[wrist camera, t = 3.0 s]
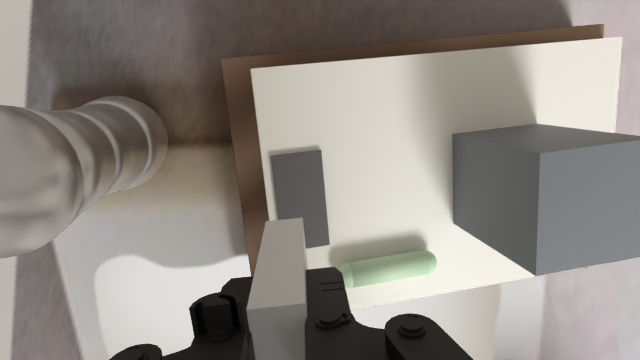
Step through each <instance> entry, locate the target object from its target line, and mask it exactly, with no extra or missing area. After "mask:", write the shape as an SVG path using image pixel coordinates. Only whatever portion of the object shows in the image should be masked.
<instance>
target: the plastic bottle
mask: <svg viewBox="0 0 640 360" xmlns="http://www.w3.org/2000/svg"><path fill="white" fill-rule="evenodd" d="M167 151H168V135H167V131H166V128H165V125H164V123H163V122H162V120H161V118H160V117H159V116H158V115H157V113H156V112H155V111H154V110H153V109H151V108H150V107H149V106H147V105H146V104H144V103H142V102H140V101H137V100H134V99H131V98H128V97H124V96H105V97H102V98H99V99H96V100H93V101H90V102H88V103H86V104H84V105H82V106H81V107H77V108H74V109H70V110H61V111H60V110H49V111H44V110H36V109H29V108H21V107H15V106H5V105H0V258H6V257H12V256H17V255H22V254H25V253H28V252H32V251H35V250H36V249H38V248H40V247H42V246H44V245H46V244H47V243H48V242H50V241H51V240H52V239H54V238H55V237H56V236H58V235H59V234H60V233H61V232H62V231H63V230H65V229H66V228H67V227H68V226H69V225H70V224H71V223H72V222H73V221H74V220H75V219H76V218H77V217H78V216H79V215H80V214H81V213H82V212H83V211H84V210H85V209H86V208H87V207H89V206H90V205H92V204H93V203H95V202H96V201H97V200H99V199H100V198H102V197H103V196H106V195H108V194H111V193H114V192H118V191H124V190H128V189H131V188H134V187H138V186H140V185H142V184H144V183H146V182H147V181H148V180H150V179H151V178H152V177H153V176H154V175H155V174H156V172H157V171H158V170H159V169H160V167H161V165H162V164H163V162H164V160H165V158H166V155H167Z"/></svg>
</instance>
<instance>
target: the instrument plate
mask: <svg viewBox="0 0 640 360" xmlns="http://www.w3.org/2000/svg"><path fill="white" fill-rule="evenodd" d="M621 49H622V37H613V38H601V39H590V40H578V41H567V42H555V43H543V44H532V45H520V46H508V47H497V48H485V49H474V50H462V51H450V52H439V53H427V54H415V55H404V56H392V57H381V58H369V59H357V60H346V61H334V62H322V63H311V64H299V65H287V66H276V67H264V68H253V69H250V72H251V80H252V88H253V96H254V104H255V112H256V120H257V128H258V136H259V144H260V152H261V160H262V168H263V176H264V184H265V192H266V200H267V208H268V216H269V221H274V220H283V219H293V218H303V227H304V236H305V245H306V255H307V264H308V269H317V268H326V267H335V268H337V269H338V270H339V271H340V272H341V273H342V275H343V280H344V284H345V289H346V293H347V297H348V302H349V306H350V311H353V310H358V309H363V308H369V307H374V306H380V305H385V304H390V303H395V302H401V301H406V300H412V299H417V298H423V297H428V296H433V295H439V294H444V293H450V292H455V291H460V290H465V289H471V288H476V287H482V286H487V285H493V284H498V283H503V282H509V281H514V280H519V279H525V278H530V277H536V276H541V275H546V274H552V273H557V272H562V271H568V270H573V269H579V268H584V267H589V266H595V265H600V264H605V263H610V262H615V261H620V260H626V259H631V258H637V257H640V136H634V135H626V134H618V133H615V126H616V113H617V100H618V87H619V75H620V62H621Z"/></svg>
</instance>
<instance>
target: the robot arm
mask: <svg viewBox="0 0 640 360" xmlns="http://www.w3.org/2000/svg"><path fill="white" fill-rule="evenodd" d="M189 310H190V315H191V320H192V325H193V331H194V336H195V337H194V339H193V342H192V344H191V346H190V347H188V348H187V349H184V350H181V351H179V352H176V353H173V354H169V355H166V356H162V351H161V349H160V348H159V347H158V346H156V345H152V344H141V345H134V346H131V347H129V348H126V349H125V350H123V351H121V352H119V353H117V354H116V355H114V356H113V357H112V358H111V359H109V360H473V359H472V358H471V357H470V356H469V355H468V354H467V353H466V352H465V351H464V350H463V349H462V348H461V347H460V346H459V345H458V344H457V343H456V342H455V341H454V340H453V339H452V338H451V337H450V336H449V335H448V334H447V333H445V332H444V330H442V328H441V327H440V326H438V324H437V323H435V322H434V321H433V320H431V319H430V318H428V317H425V316H422V315H419V314H402V315H398V316H395V317H393V318H391V319H390V320H389V321H388V322H387V323H386V325H385V329H378V328H371V327H367V326H364V325H362V324H360V323H358V322H357V321H356V320H355V318H354V317H353V315H352V313H351V311H350V306H349V302H348V297H347V293H346V289H345V284H344V280H343V275H342V273H341V272H340V271H339V270H338V269H337V268H335V267H326V268H317V269H308V264H307V255H306V245H305V236H304V227H303V218H293V219H283V220H274V221H266V223H265V228H264V232H263V237H262V241H261V246H260V250H259V255H258V259H257V264H256V268H255V273H254V276H252V277H242V278H233V279H231V280H230V281H228V282H227V283H226V284H225V285H224V286H223V287H222V290H221V292H218V293H213V294H209V295H207V296H204V297H202V298H200V299H198V300H197V301H195V302H194V303H193V304H192V305H191V307H190V308H189Z"/></svg>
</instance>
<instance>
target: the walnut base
mask: <svg viewBox="0 0 640 360" xmlns="http://www.w3.org/2000/svg"><path fill="white" fill-rule="evenodd" d="M603 35H604V24H597V25H586V26H575V27H564V28H553V29H542V30H531V31H520V32H509V33H498V34H487V35H476V36H465V37H454V38H443V39H432V40H421V41H410V42H399V43H388V44H377V45H366V46H355V47H344V48H333V49H322V50H311V51H300V52H289V53H278V54H267V55H256V56H245V57H234V58H223V59H221V65H222V72H223V79H224V86H225V93H226V100H227V107H228V114H229V121H230V128H231V136H232V143H233V150H234V157H235V164H236V171H237V178H238V185H239V192H240V199H241V207H242V214H243V221H244V228H245V235H246V242H247V249H248V256H249V263H250V269H251V277H252V276H254V273H255V268H256V264H257V259H258V255H259V250H260V246H261V241H262V237H263V232H264V228H265V223H266V221H269V216H268V208H267V200H266V192H265V184H264V176H263V168H262V160H261V152H260V144H259V136H258V128H257V120H256V112H255V104H254V96H253V88H252V80H251V72H250V69H253V68H264V67H276V66H287V65H299V64H311V63H322V62H334V61H346V60H357V59H369V58H381V57H392V56H404V55H415V54H427V53H439V52H450V51H462V50H474V49H485V48H497V47H508V46H520V45H532V44H543V43H555V42H567V41H578V40H590V39H601V38H603ZM584 268H588V267H584Z"/></svg>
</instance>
